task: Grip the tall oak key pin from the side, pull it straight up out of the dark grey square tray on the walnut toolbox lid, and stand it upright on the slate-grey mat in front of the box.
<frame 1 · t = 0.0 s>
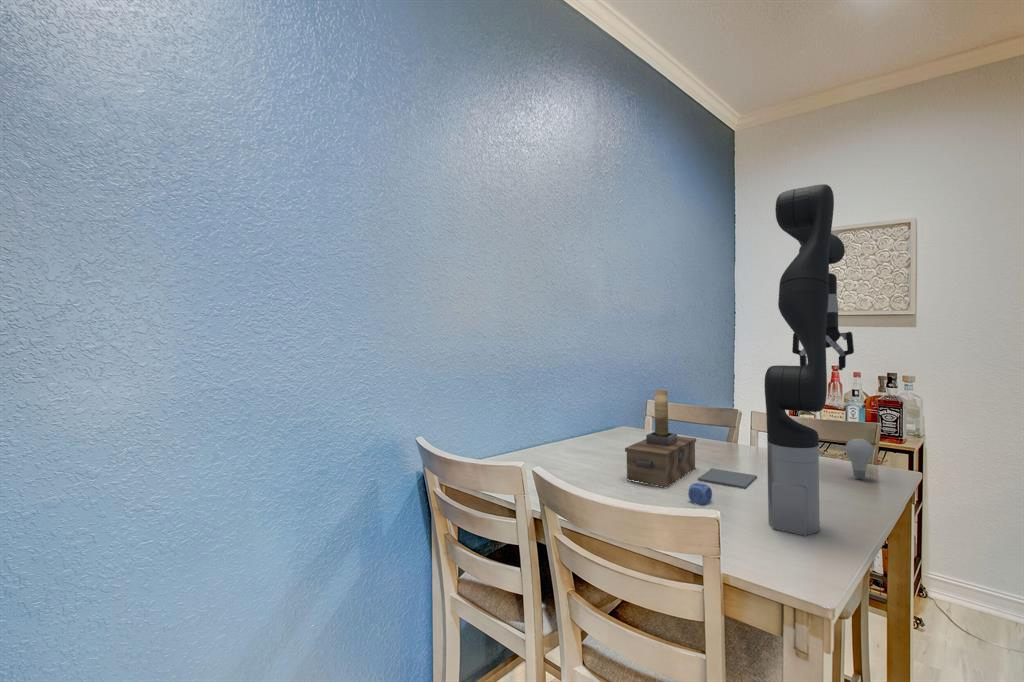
hand: (822, 369, 134), 29 cm above the table, tool pointing down, fingers open, 8 cm apart
dark grey square tray: (661, 438, 138), on the toolbox, point 10 cm above the table
key pin: (661, 442, 138), point 9 cm above the table, touching toolbox
toolbox: (662, 474, 138), on the table
decorative dice: (700, 502, 115), on the table
mat: (727, 479, 132), on the table
lightbulb: (859, 480, 129), on the table
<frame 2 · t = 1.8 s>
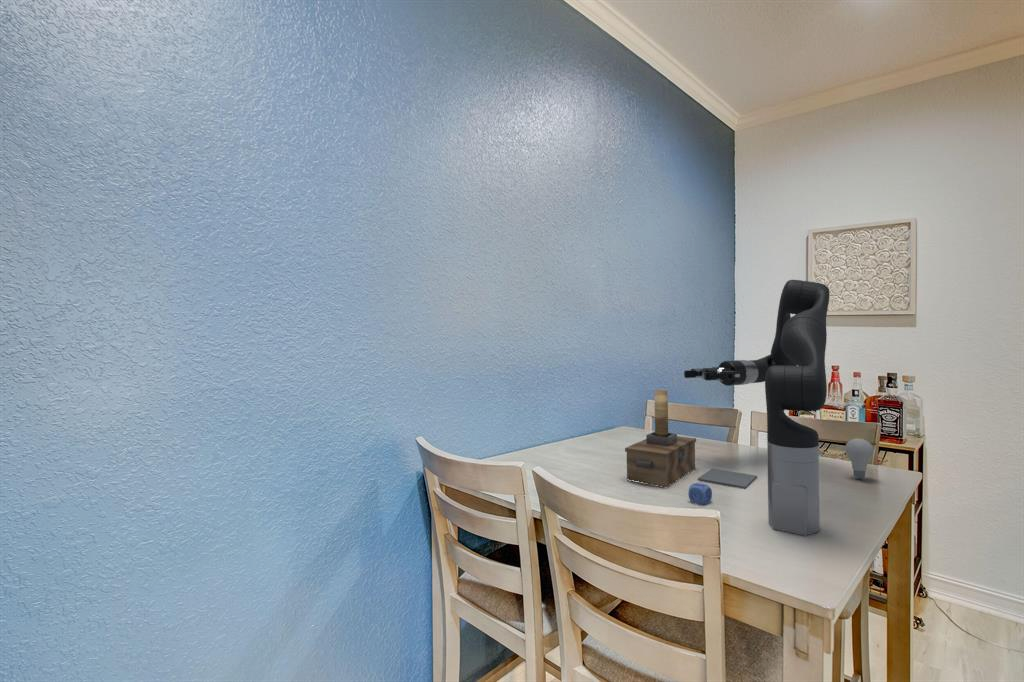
hand: (694, 375, 141), 28 cm above the table, tool horizontal, fingers open, 8 cm apart
nothing on the table moved.
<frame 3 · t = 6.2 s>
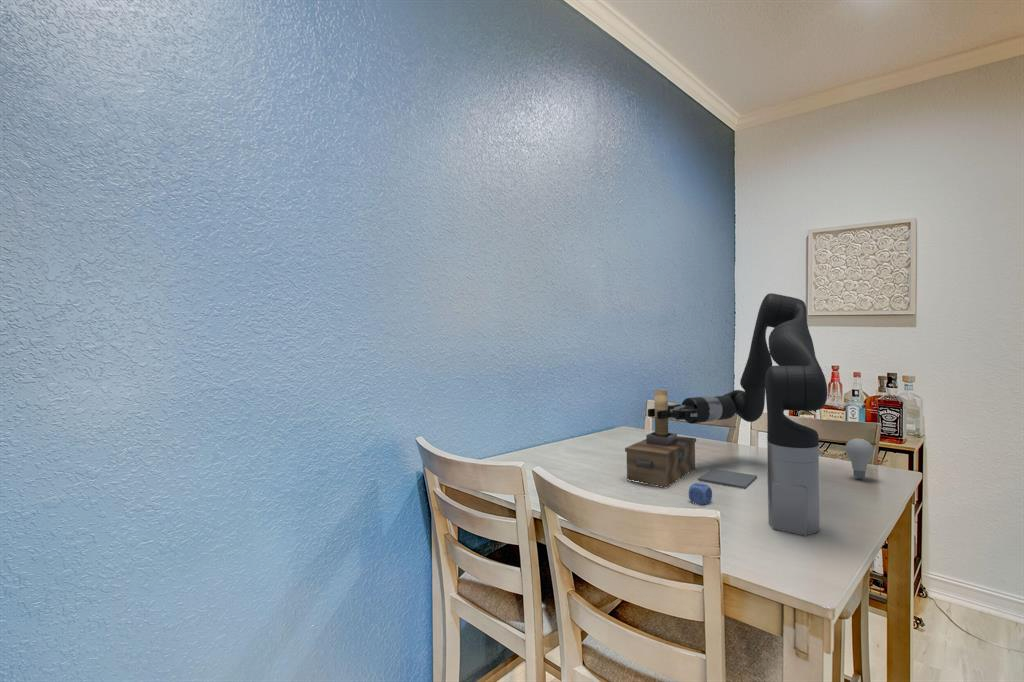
hand: (653, 414, 136), 17 cm above the table, tool horizontal, fingers closed on key pin, 3 cm apart
key pin: (661, 442, 138), point 9 cm above the table, touching gripper, toolbox
everything else where it was.
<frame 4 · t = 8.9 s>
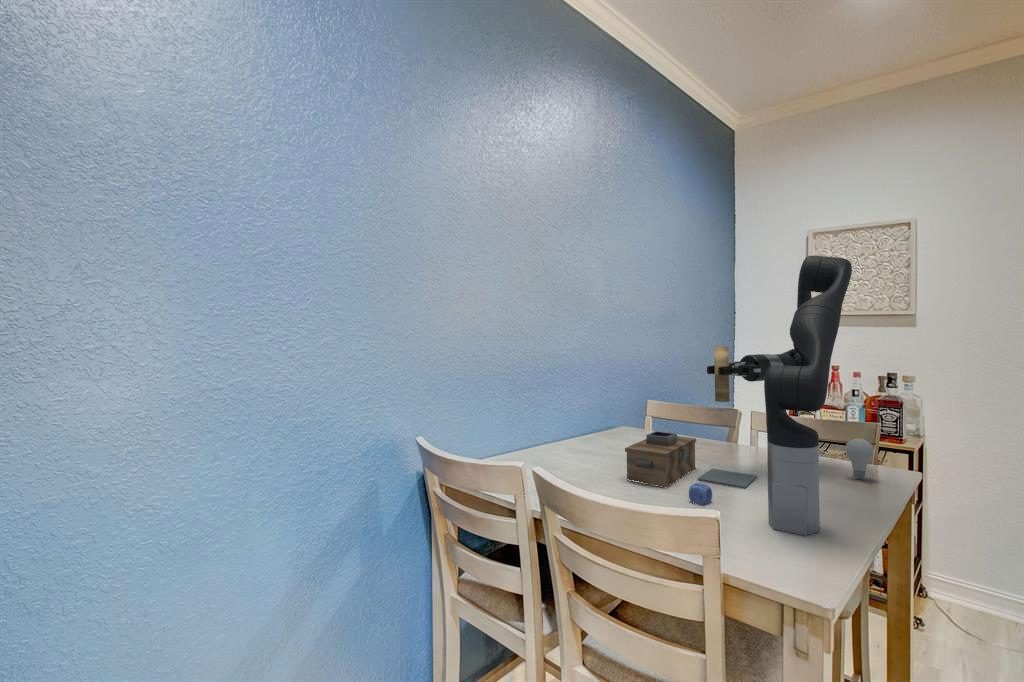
hand: (713, 370, 131), 30 cm above the table, tool horizontal, fingers closed on key pin, 3 cm apart
key pin: (722, 401, 132), point 21 cm above the table, touching gripper
everything else where it was.
when the fingers open (10 cm above the table, at t = 11.8 s): key pin stays where it is, resting on mat.
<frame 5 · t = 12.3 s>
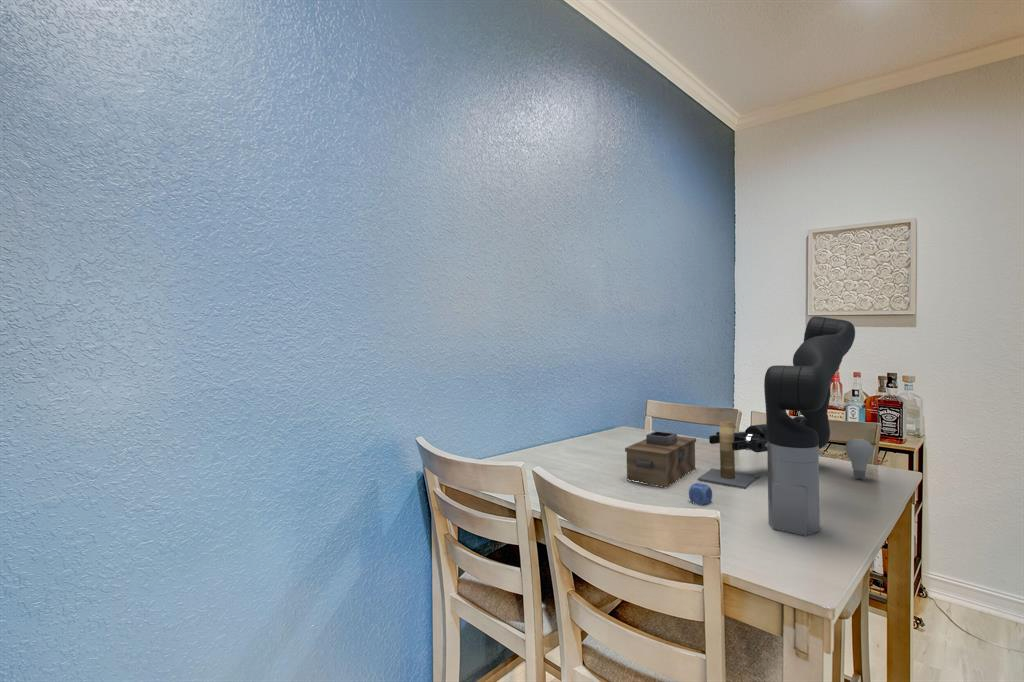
hand: (721, 443, 131), 10 cm above the table, tool horizontal, fingers open, 8 cm apart
key pin: (727, 476, 132), point 1 cm above the table, touching mat
everything else where it was.
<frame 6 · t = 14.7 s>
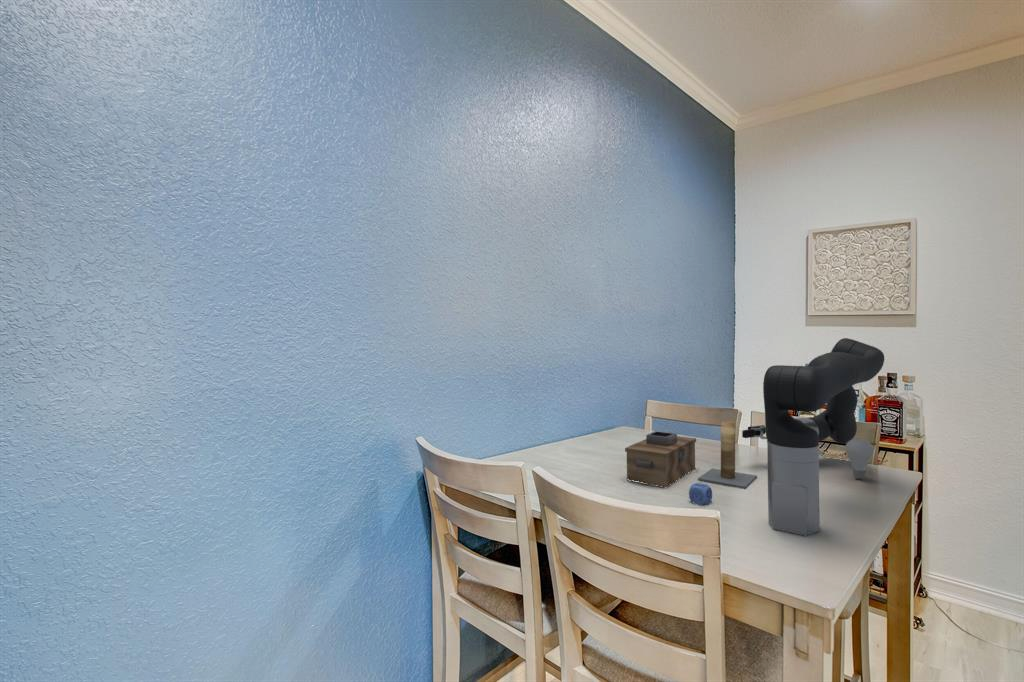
hand: (755, 437, 136), 10 cm above the table, tool horizontal, fingers open, 8 cm apart
nothing on the table moved.
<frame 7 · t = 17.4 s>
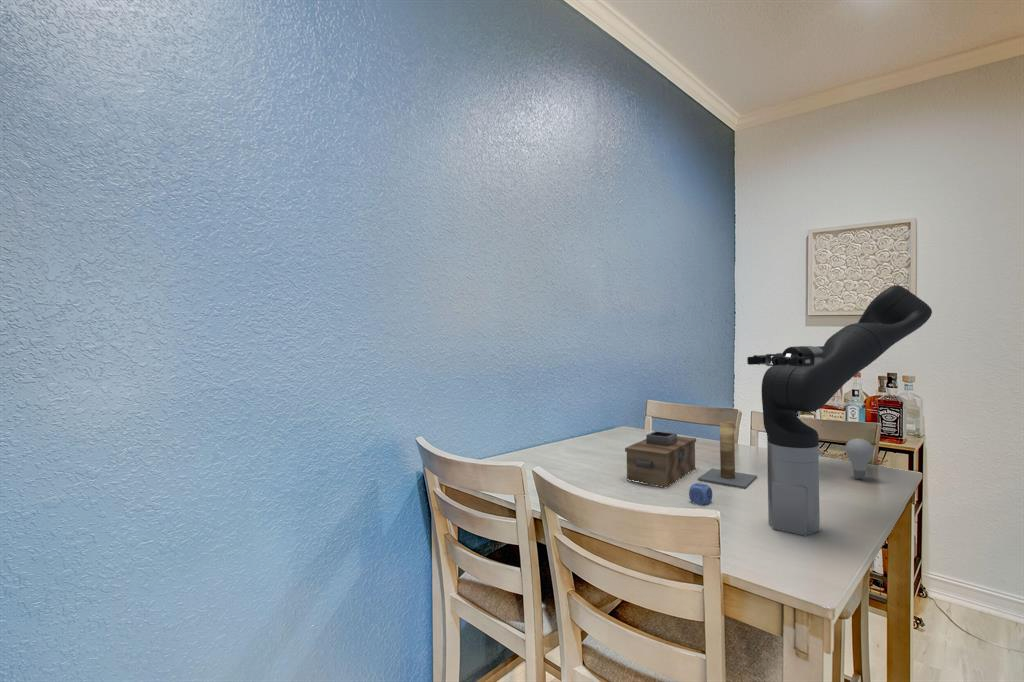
hand: (760, 361, 133), 32 cm above the table, tool horizontal, fingers open, 8 cm apart
nothing on the table moved.
at the end: key pin inside the target area on the mat (0.1 cm from its centre), point 0.6 cm above the mat's base; key pin tilted 1°; the gripper is holding nothing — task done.
